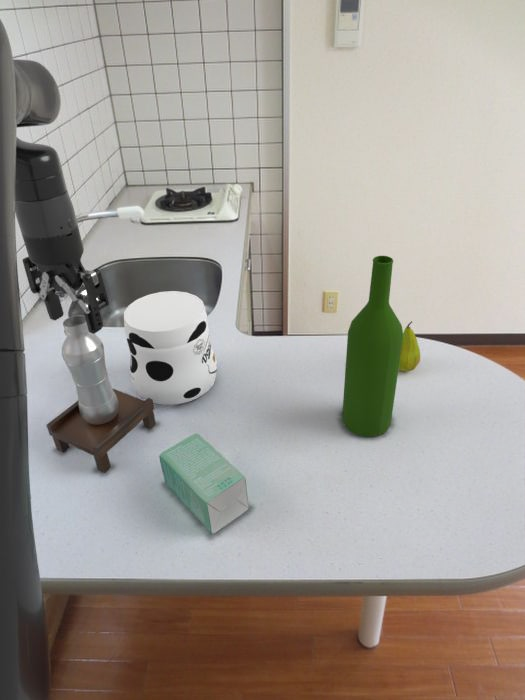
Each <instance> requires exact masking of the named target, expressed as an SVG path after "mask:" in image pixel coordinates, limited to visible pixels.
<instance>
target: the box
mask: <svg viewBox="0 0 525 700" xmlns="http://www.w3.org/2000/svg"><path fill="white" fill-rule="evenodd" d="M158 457H159V462H160V467H161V471H162V476H163V479H164V482H165V485H166V487H168V489H169V490H170V491H171V492H172V493H173V494H174V496H176V498H178V499H179V500H180V502H181V503H183V505H184V506H185V507H187V509H188V510H189V511H190V512H191V513H192V514H193V515H194V516H195V518H196V519H197V520H198V521H199V522H200V523H201V524H202V525H203V526H204V527H205V528H206V529H207V530H208V531H209V533H211V534H213V535H214V534H216V533H218V532H220V531H221V529H223V528H225V527H226V526H228V525H229V524H230V523H232V522H233V521H235V520H236V519H238V518H239V517H241V516H242V515H243V514H244V513H246V512H247V511H248V510H249V507H250V505H249V496H248V488H247V480H246V479H247V478H246V476H245V475H244V474H242V472H240V471H239V470H238V468H237V467H235V466H234V465H233V464H232V463H231V462H230V461H228V459H227V458H226V457H224V456H223V455H222V454H221V453H220V452H219V451H218V450H217V449H215V447H213V446H212V445H211V444H210V442H208V441H207V440H206V439H204V438H203V437H202V436H201V435H200V434H198V433H194V434H191V435H190V436H188V437H186V438H184V439H183V440H181V441H179V442H177V443H175V444H174V445H172V446H170V447H168V448H167V449H165V450H163V451H162V452H161V453H160V454H159V456H158Z"/></svg>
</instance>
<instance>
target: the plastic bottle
mask: <svg viewBox="0 0 525 700" xmlns="http://www.w3.org/2000/svg"><path fill="white" fill-rule="evenodd" d="M62 326H63V332H64V335H65V336H66V338H65V339H64V341H63V343H62V345H61V352H60V353H61V357H62V359H63V361H64V364H65V365H66V367H67V369H68V371H69V373H70V375H71V378H72V381H73V382H74V386H75V388H76V394H77V399H78V400H79V401H78V400H77V401H78V403H79V411H80V414H81V415H82V417H83V419H84V420H85V421H86V422H88V423H90V424H94V425H100V424H104V423H107V422H109V421H111V420H112V419H114V418H115V416H116V415H117V413H118V411H119V401H118V398H117V396H116V394H115V392H114V391H113V389H114V388H113V387H112V384H111V381H110V378H109V374H108V371H107V370H108V369H107V365H106V356H105V355H106V354H105V348H104V347H105V345H104V343H103V341H102V340H101V338H100V337H99V336H98V335H96V333H95V334H93V333H90V332H89V330H88V327H87V323H86V319H85V315H72V316H69V317H67V318H66V319H64V321H63V322H62ZM112 388H113V389H112Z"/></svg>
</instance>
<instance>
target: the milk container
mask: <svg viewBox="0 0 525 700" xmlns="http://www.w3.org/2000/svg"><path fill="white" fill-rule="evenodd" d="M208 322H209V321H208V315H207V310H206V306H205V303H204V300H202V299H201V298H199V297H198V296H197V295H195V294H192V293H189V292H186V291H178V290H169V291H158V292H154V293H150V294H146V295H145V296H141V297H139V298H136V299H135V300H134V301H133V302H131V303H130V304H129V305H128V306H127V307H126V309H125V310H124V312H123V325H124V332H125V333H124V334H125V338H126V342H127V346H128V350H129V365H128V366H129V367H128V373H129V378H130V381H131V384H132V386H133V388H134V391H135V392H136V393H137V394H138V395H139V396H140V398H141V399H142V400H144V401H145V400H146V399H147V398H151V399H153V404H154V405H157V406H164V407H170V406H181V405H184V404H185V405H186V404H188V403H191V402H194V401H196V400H198V399H199V398H201V397H203V396H205V395H206V394H207V393H208V392H209V391H210V390H211V389H212V387H213V386H214V384H215V382H216V379H217V375H218V374H217V373H218V362H217V356H216V353H215V351H214V348H213V346H212V343H211V341H210V330H209V323H208Z"/></svg>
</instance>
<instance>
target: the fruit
mask: <svg viewBox="0 0 525 700" xmlns="http://www.w3.org/2000/svg"><path fill="white" fill-rule="evenodd" d="M412 323H413V321H412V320H411V321H410V322H409V323H408V324H407V326H406V327H405V328H404V330H403V341H402V348H401V355H400V362H399V369H398V371H400V372H410V371H413V370H415V369H416V367H417V366H418V365H419V363H420V362H421V351H420V350H421V349H420V347H419V346H420V345H419V343H418V339H417V337H416V333H415V332H414V330H413V329H412V328H411V324H412Z"/></svg>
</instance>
